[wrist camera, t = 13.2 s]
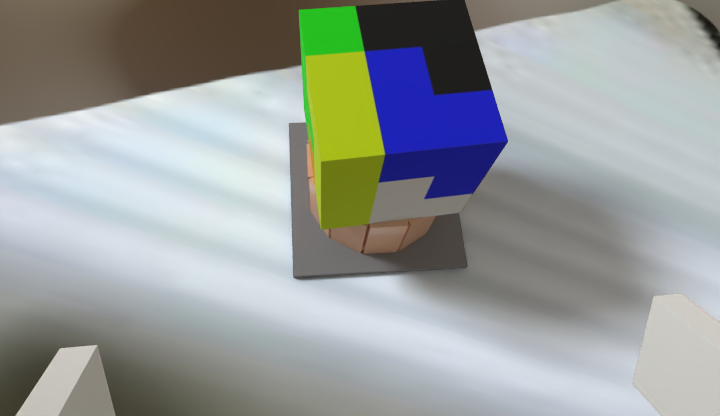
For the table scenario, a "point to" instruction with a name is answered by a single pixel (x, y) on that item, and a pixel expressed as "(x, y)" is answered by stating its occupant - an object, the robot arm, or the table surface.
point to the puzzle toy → (396, 110)
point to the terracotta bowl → (371, 228)
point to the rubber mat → (333, 258)
